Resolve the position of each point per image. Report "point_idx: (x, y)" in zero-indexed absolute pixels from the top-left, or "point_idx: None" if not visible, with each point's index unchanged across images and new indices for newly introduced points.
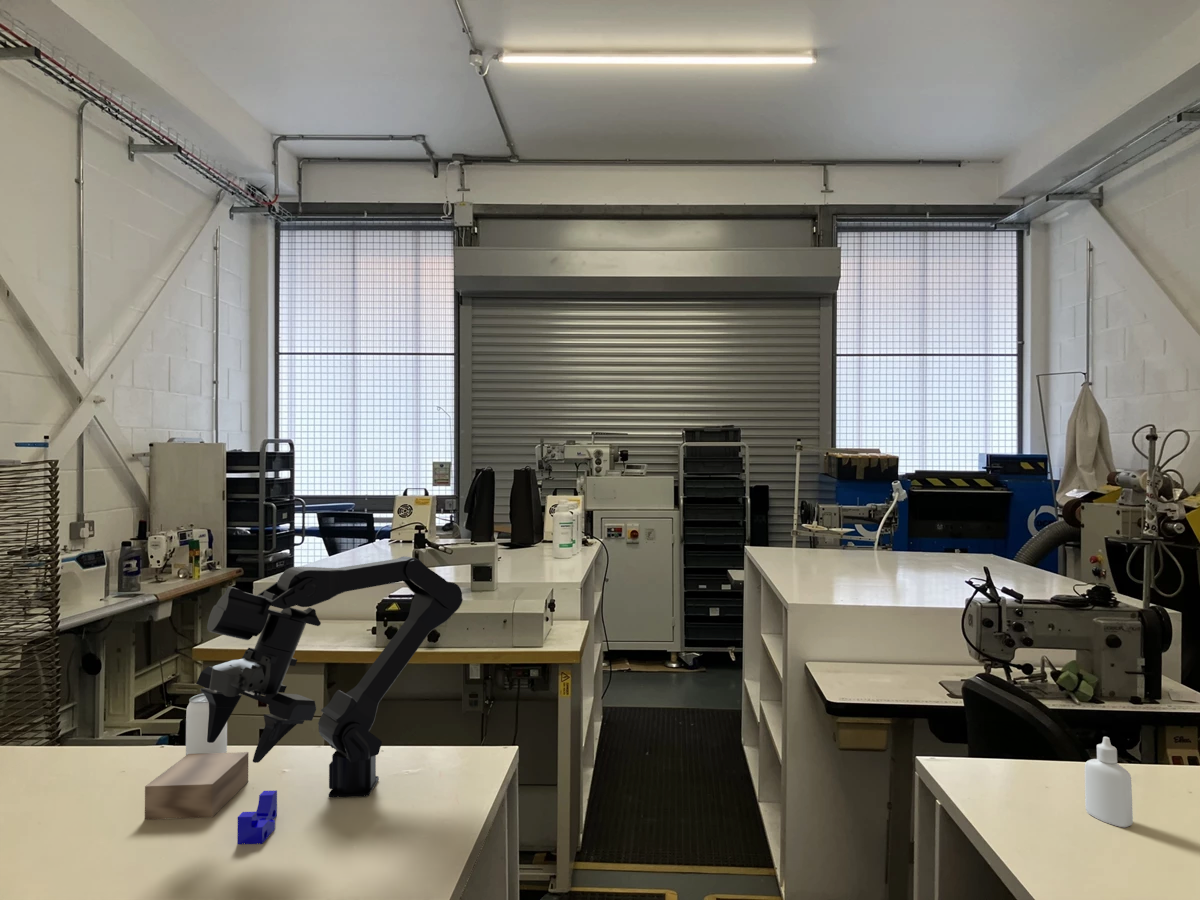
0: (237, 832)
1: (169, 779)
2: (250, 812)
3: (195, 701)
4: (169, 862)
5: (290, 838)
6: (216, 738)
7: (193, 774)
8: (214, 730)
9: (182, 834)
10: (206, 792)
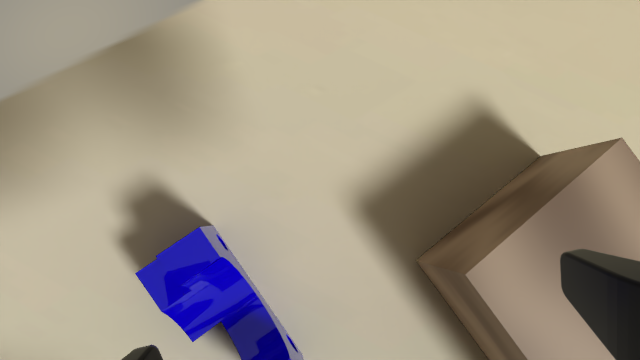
0: (208, 226)
1: (615, 206)
2: (190, 269)
3: None
4: (279, 87)
5: (103, 331)
6: (580, 315)
7: None
8: (635, 310)
9: (389, 171)
10: (464, 257)
